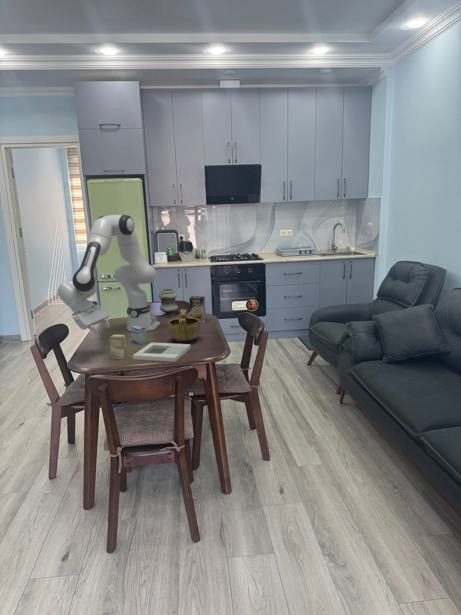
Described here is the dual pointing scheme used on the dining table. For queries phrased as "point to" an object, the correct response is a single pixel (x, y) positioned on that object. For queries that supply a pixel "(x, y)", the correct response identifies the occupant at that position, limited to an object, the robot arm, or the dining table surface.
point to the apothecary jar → (168, 302)
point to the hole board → (162, 352)
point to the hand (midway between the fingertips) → (103, 329)
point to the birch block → (118, 346)
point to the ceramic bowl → (184, 327)
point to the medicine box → (138, 334)
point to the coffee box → (198, 308)
